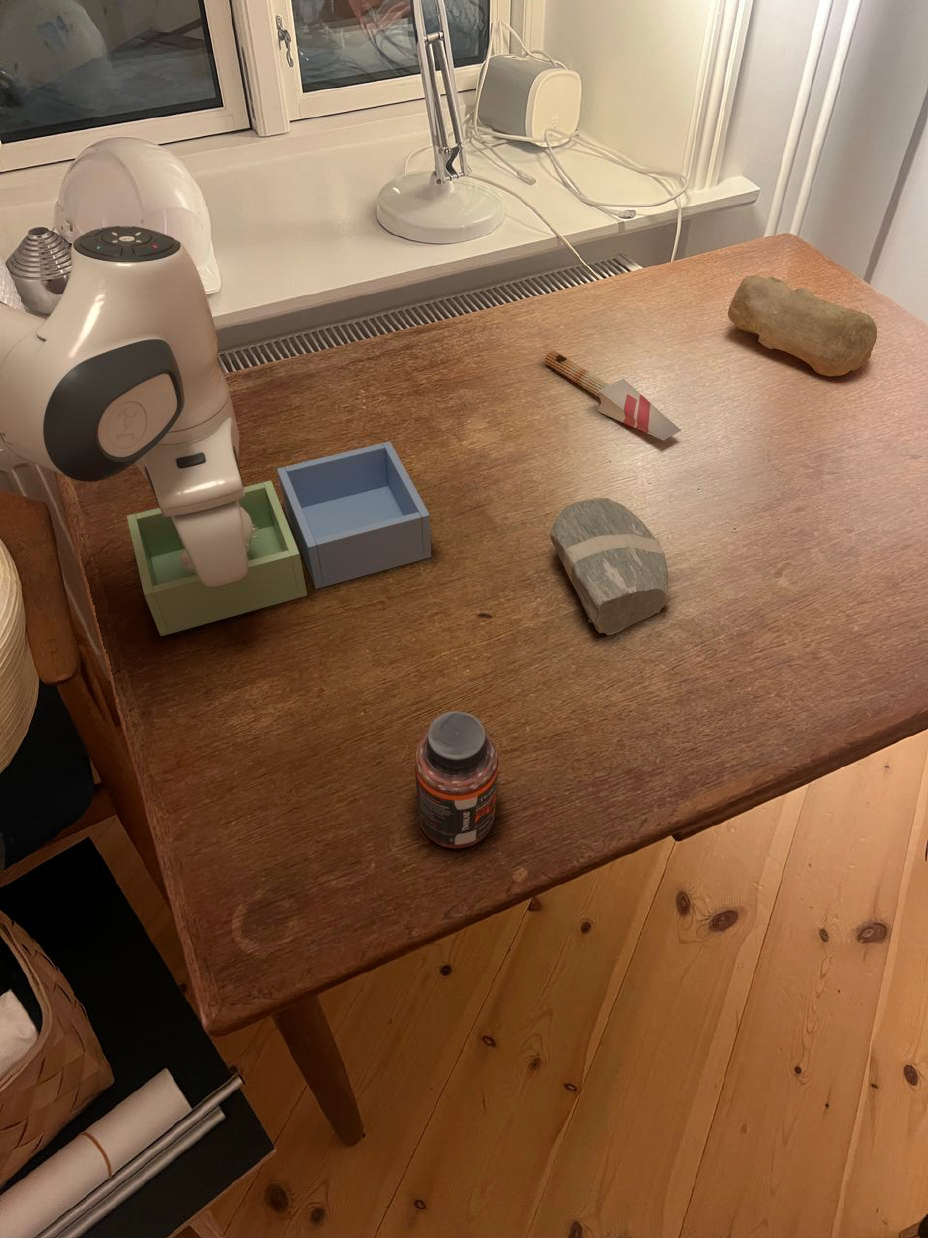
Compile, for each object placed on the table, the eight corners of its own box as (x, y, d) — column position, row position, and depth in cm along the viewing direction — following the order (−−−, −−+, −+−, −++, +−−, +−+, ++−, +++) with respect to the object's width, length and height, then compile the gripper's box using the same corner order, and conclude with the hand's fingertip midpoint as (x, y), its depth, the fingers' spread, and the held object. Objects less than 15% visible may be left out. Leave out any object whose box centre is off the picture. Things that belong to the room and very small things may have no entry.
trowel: (661, 430, 97) (539, 352, 108) (657, 452, 99) (538, 372, 110) (687, 417, 98) (564, 340, 109) (683, 438, 100) (563, 361, 111)
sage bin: (160, 636, 83) (144, 594, 78) (142, 558, 89) (126, 515, 85) (307, 595, 86) (299, 553, 82) (279, 522, 92) (271, 480, 88)
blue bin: (315, 589, 86) (307, 547, 82) (285, 511, 93) (276, 468, 89) (431, 557, 89) (429, 514, 85) (393, 483, 96) (390, 440, 92)
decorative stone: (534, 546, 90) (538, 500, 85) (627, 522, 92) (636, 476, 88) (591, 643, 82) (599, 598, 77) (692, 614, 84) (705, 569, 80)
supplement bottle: (487, 859, 69) (491, 780, 60) (410, 844, 69) (402, 764, 61) (501, 789, 72) (506, 706, 64) (428, 776, 73) (423, 692, 65)
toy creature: (274, 557, 87) (263, 508, 82) (200, 599, 83) (183, 550, 79) (248, 532, 89) (236, 482, 84) (174, 571, 86) (157, 522, 81)
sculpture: (763, 283, 116) (748, 246, 108) (893, 330, 109) (889, 294, 100) (727, 345, 118) (710, 314, 109) (854, 396, 110) (846, 367, 101)
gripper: (123, 366, 80) (162, 488, 90) (162, 517, 67) (202, 637, 78) (195, 351, 81) (226, 472, 92) (247, 496, 69) (275, 617, 79)
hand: (215, 549), depth 85 cm, fingers closed on toy creature, 5 cm apart
